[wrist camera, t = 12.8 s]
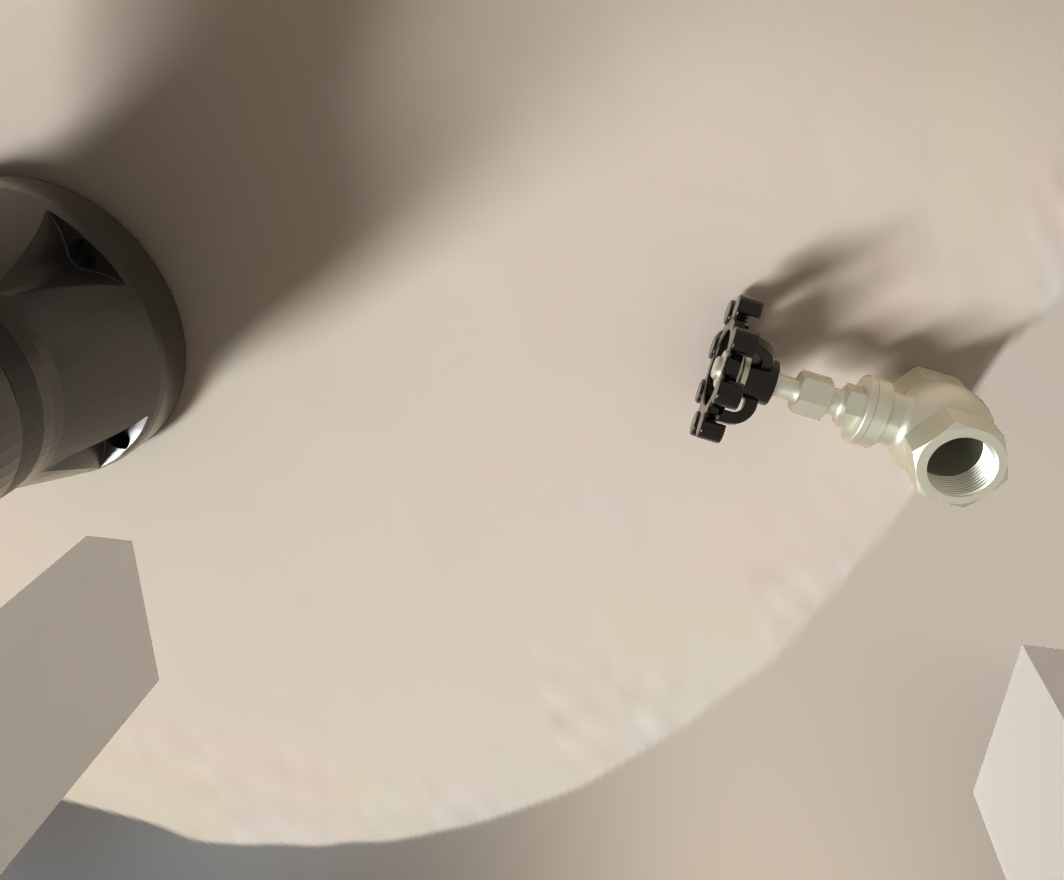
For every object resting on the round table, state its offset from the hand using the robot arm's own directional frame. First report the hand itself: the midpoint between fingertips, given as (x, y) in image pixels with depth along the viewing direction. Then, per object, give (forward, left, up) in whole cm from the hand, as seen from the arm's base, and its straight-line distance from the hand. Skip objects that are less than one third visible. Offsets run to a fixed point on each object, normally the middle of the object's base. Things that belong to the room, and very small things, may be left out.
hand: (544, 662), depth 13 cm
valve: (+10, -6, -29) cm, 31 cm away
